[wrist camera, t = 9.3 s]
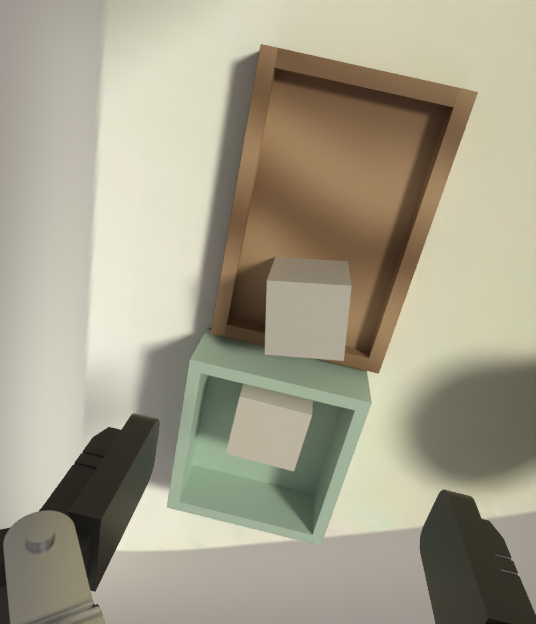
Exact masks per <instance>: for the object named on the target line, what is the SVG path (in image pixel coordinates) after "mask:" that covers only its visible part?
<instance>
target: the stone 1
mask: <svg viewBox="0 0 536 624" xmlns="http://www.w3.org/2000/svg"><path fill="white" fill-rule="evenodd" d="M351 287H352V285H351V278H350V271H349V264H348V261H334V260H318V259H301V258H285V257H275V259H274V262H273V265H272V267H271V270H270V273H269V276H268V279H267V292H266V327H265V355H277V356H289V357H301V358H314V359H326V360H339V361H344V354H345V345H346V335H347V325H348V316H349V306H350V297H351Z"/></svg>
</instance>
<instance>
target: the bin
mask: <svg viewBox="0 0 536 624" xmlns="http://www.w3.org/2000/svg"><path fill="white" fill-rule="evenodd" d="M243 384H247V385H251V386H255V387H260V388H264V389H268V390H272V391H276V392H280V393H285V394H289V395H293V396H297V397H301V398H305V399H309V400H313V409H312V417H311V420H310V424H309V427H308V430H307V433H306V436H305V439H304V442H303V445H302V448H301V451H300V454H299V457H298V461H297V464H296V467H295V470H294V471H290V470H286V469H282V468H279V467H275V466H271V465H267V464H263V463H260V462H256V461H252V460H248V459H244V458H240V457H237V456H233V455H229V454H226V451H227V447H228V443H229V439H230V434H231V430H232V426H233V422H234V418H235V414H236V410H237V405H238V401H239V397H240V394H241V390H242V387H243ZM370 406H371V396H370V390H369V383H368V377H367V371H366V370H362V369H358V368H354V367H350V366H345V365H341V364H337V363H333V362H329V361H324V360H320V359H314V358H301V357H289V356H277V355H265V346H261V345H257V344H253V343H249V342H245V341H240V340H236V339H232V338H228V337H224V336H219V335H215V334H211V329H208V328H207V330H206V331H205V333H204V335H203V337H202V338H201V340H200V342H199V344H198V346H197V347H196V349H195V351H194V353H193V355H192V356H191V358H190V361H189V368H188V374H187V381H186V387H185V394H184V400H183V406H182V413H181V419H180V426H179V432H178V438H177V445H176V451H175V458H174V464H173V470H172V477H171V483H170V490H169V496H168V503H167V508H171V509H175V510H179V511H184V512H188V513H192V514H196V515H200V516H204V517H208V518H212V519H216V520H220V521H224V522H228V523H232V524H236V525H240V526H244V527H248V528H252V529H256V530H260V531H264V532H268V533H272V534H276V535H280V536H284V537H288V538H292V539H296V540H300V541H305V542H309V543H312V544H317V545H321V544H322V541H323V538H324V535H325V532H326V530H327V527H328V524H329V521H330V518H331V516H332V513H333V510H334V507H335V504H336V501H337V499H338V496H339V493H340V490H341V487H342V485H343V482H344V479H345V476H346V473H347V471H348V468H349V465H350V462H351V459H352V456H353V454H354V451H355V448H356V445H357V442H358V440H359V437H360V434H361V431H362V428H363V426H364V423H365V420H366V417H367V414H368V412H369V409H370Z"/></svg>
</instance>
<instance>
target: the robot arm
mask: <svg viewBox="0 0 536 624" xmlns="http://www.w3.org/2000/svg"><path fill="white" fill-rule="evenodd" d="M158 431H159V419H155V418H151V417H147V416H143V415H138V414H132V415H131V416H130V418H129V419H128V421H127V422H126V424H125V425H124V427H123V428H122V430H119V429H115V428H111V427H108V428H107V429H105V430H103V431H102V432H100V433H99V434H97V435H96V436H94V437H93V438H92V439H91V441H90V442H89V443H88V445H87V446H86V448H85V449H84V450H83V453H82V454H80V456H79V457H78V459H77V460H76V461H75V464H74V465H73V466H72V467H71V468H70V470H69V471H68V472H67V474H66V475H65V477H64V478H63V479H62V481H61V482H60V484H59V485H58V486H57V488H56V489H55V490H54V492H53V493H52V494H51V496H50V497H49V499H48V500H47V501H46V503H45V504H44V505H43V507H42V508H41V509H40V510H39V512H35V513H32V514H29V515H27V516H25V517H23V518H21V519H20V520H18V521H17V522H16V523H14V525H13V526H12V527H10V528H6V529H1V530H0V624H105V621H104V618H103V614H102V611H101V609H100V607H99V605H98V604H97V605H94V602H93V599H92V595H91V591H96V589H97V587H98V585H99V583H100V581H101V579H102V577H103V575H104V573H105V571H106V569H107V566H108V564H109V562H110V560H111V558H112V556H113V554H114V552H115V550H116V548H117V546H118V544H119V542H120V540H121V538H122V536H123V534H124V532H125V530H126V527H127V525H128V523H129V521H130V519H131V517H132V515H133V513H134V511H135V509H136V507H137V505H138V503H139V501H140V499H141V497H142V495H143V492H144V490H145V488H146V486H147V484H148V482H149V479H150V476H151V473H152V470H153V466H154V461H155V454H156V446H157V439H158ZM420 553H421V558H422V562H423V567H424V572H425V577H426V581H427V586H428V591H429V595H430V600H431V604H432V609H433V614H434V618H435V623H436V624H536V615H535V613H534V610H533V608H532V605H531V603H530V600H529V598H528V596H527V593H526V591H525V589H524V586H523V584H522V581H521V579H520V577H519V576H518V575H517V573H518V572H517V570H516V567H515V565H514V562H513V561H511V555H510V553H509V551H508V548H507V546H506V543H505V541H504V539H503V537H502V536H501V535H500V534H499V532H498V531H497V530H496V529H495V527H494V526H493V525H492V524H491V522H490V521H488V520H484V519H481V516H480V514H479V511H478V509H477V506H476V503H475V501H474V499H473V498H472V497H471V496H468V495H464V494H460V493H456V492H451V491H447V490H442V491H441V492H440V493H439V495H438V496H437V499H436V501H435V503H434V505H433V507H432V509H431V511H430V513H429V516H428V518H427V520H426V522H425V524H424V526H423V529H422V532H421V537H420ZM90 590H91V591H90Z"/></svg>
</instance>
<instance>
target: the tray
mask: <svg viewBox="0 0 536 624" xmlns="http://www.w3.org/2000/svg"><path fill="white" fill-rule="evenodd" d="M477 93H478V92H475V91H470V90H466V89H461V88H457V87H452V86H448V85H443V84H439V83H434V82H430V81H425V80H421V79H416V78H412V77H407V76H403V75H398V74H394V73H389V72H385V71H380V70H376V69H371V68H366V67H362V66H357V65H353V64H348V63H344V62H339V61H335V60H330V59H326V58H321V57H317V56H312V55H308V54H303V53H299V52H294V51H290V50H285V49H281V48H276V47H272V46H267V45H263V44H261V46H260V51H259V57H258V63H257V69H256V74H255V80H254V86H253V92H252V98H251V103H250V109H249V115H248V121H247V127H246V132H245V138H244V144H243V150H242V156H241V161H240V167H239V173H238V179H237V185H236V190H235V196H234V202H233V208H232V213H231V219H230V225H229V231H228V237H227V242H226V248H225V254H224V260H223V266H222V271H221V277H220V283H219V289H218V295H217V300H216V306H215V312H214V318H213V324H212V329H211V334H215V335H219V336H224V337H228V338H232V339H236V340H240V341H245V342H249V343H253V344H257V345H261V346H265V327H266V292H267V279H268V276H269V273H270V270H271V267H272V265H273V262H274V259H275V257H285V258H301V259H318V260H334V261H348V264H349V271H350V278H351V285H352V287H351V297H350V306H349V316H348V325H347V335H346V345H345V354H344V361H339V360H326V359H320V360H324V361H329V362H333V363H337V364H341V365H345V366H350V367H354V368H358V369H362V370H366V371H371V372H375V373H379V371H380V368H381V366H382V363H383V360H384V357H385V354H386V351H387V349H388V346H389V343H390V340H391V337H392V334H393V332H394V329H395V326H396V323H397V320H398V317H399V315H400V312H401V309H402V306H403V303H404V300H405V297H406V295H407V292H408V289H409V286H410V283H411V280H412V278H413V275H414V272H415V269H416V266H417V263H418V261H419V258H420V255H421V252H422V249H423V246H424V244H425V241H426V238H427V235H428V232H429V229H430V227H431V224H432V221H433V218H434V215H435V212H436V210H437V207H438V204H439V201H440V198H441V195H442V193H443V190H444V187H445V184H446V181H447V178H448V175H449V173H450V170H451V167H452V164H453V161H454V158H455V156H456V153H457V150H458V147H459V144H460V141H461V139H462V136H463V133H464V130H465V127H466V124H467V122H468V119H469V116H470V113H471V110H472V107H473V105H474V102H475V99H476V96H477Z"/></svg>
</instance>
